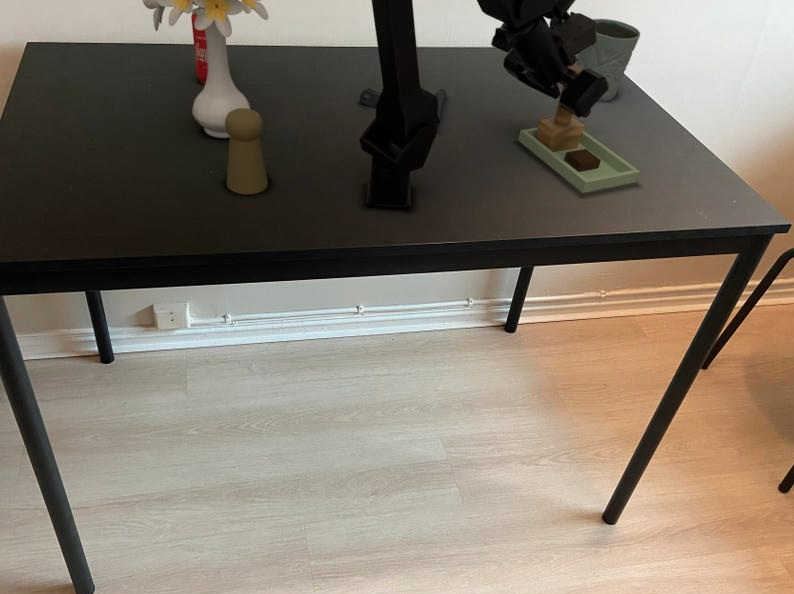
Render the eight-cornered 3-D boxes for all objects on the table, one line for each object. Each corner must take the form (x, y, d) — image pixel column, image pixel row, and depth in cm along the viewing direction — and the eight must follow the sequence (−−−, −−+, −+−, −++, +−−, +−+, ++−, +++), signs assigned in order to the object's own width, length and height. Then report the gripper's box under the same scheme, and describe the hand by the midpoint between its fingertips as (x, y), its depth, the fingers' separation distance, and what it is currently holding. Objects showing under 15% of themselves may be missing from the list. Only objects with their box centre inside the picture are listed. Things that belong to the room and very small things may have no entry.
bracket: (367, 87, 133) (368, 72, 131) (445, 98, 132) (447, 83, 130) (352, 120, 123) (352, 104, 121) (436, 132, 121) (438, 117, 120)
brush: (547, 153, 117) (568, 74, 108) (533, 141, 120) (552, 64, 111) (578, 148, 119) (600, 70, 110) (563, 137, 122) (584, 60, 113)
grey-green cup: (564, 79, 142) (580, 16, 134) (614, 83, 142) (633, 20, 134) (573, 101, 135) (590, 35, 126) (625, 105, 135) (646, 40, 127)
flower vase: (159, 117, 119) (134, -50, 102) (268, 110, 123) (262, -51, 106) (164, 154, 110) (139, -22, 93) (282, 145, 114) (278, -24, 97)
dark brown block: (598, 168, 114) (601, 159, 113) (578, 172, 113) (581, 163, 112) (583, 157, 117) (586, 148, 116) (563, 160, 116) (566, 152, 115)
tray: (635, 185, 112) (640, 171, 111) (581, 196, 109) (585, 182, 107) (568, 134, 124) (571, 121, 122) (517, 143, 120) (520, 129, 119)
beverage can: (232, 79, 132) (227, 11, 123) (213, 88, 128) (207, 18, 120) (210, 72, 133) (204, 4, 125) (191, 80, 130) (184, 11, 122)
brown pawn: (250, 198, 102) (246, 126, 95) (218, 185, 104) (211, 113, 97) (276, 182, 106) (274, 111, 98) (244, 169, 108) (240, 99, 100)
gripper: (619, 20, 96) (651, 88, 108) (534, -21, 108) (571, 45, 119) (560, 85, 99) (597, 145, 110) (483, 38, 110) (524, 97, 122)
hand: (572, 105), depth 115 cm, fingers open, 7 cm apart
